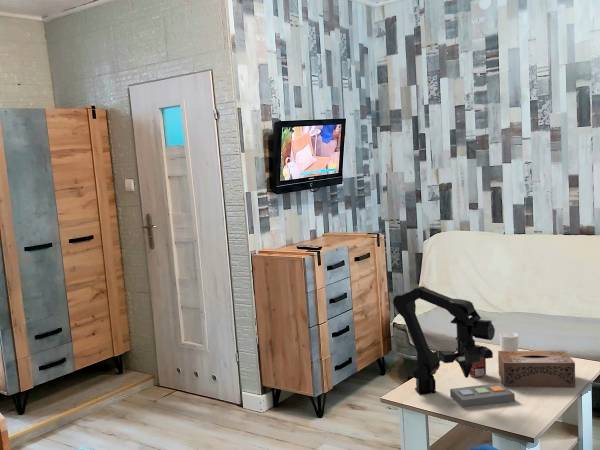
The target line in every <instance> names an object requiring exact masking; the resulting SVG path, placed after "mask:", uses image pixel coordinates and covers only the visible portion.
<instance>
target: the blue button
mask: <svg viewBox="0 0 600 450" xmlns="http://www.w3.org/2000/svg"><path fill="white" fill-rule="evenodd" d="M459 393H460V394H461V395H462V396H469V395H474V393H473V392H472V391H470V390H469V389H468V390H460V391H459Z"/></svg>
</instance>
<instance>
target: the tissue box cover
mask: <svg viewBox="0 0 600 450" xmlns="http://www.w3.org/2000/svg"><path fill="white" fill-rule="evenodd" d="M497 355H498V356H497V357H498V358H497V359H498V361H497V362H498V363H497V364H498V376H499V378H500V380H501V384H502V385H503V386H505V387H506V388H540V389H541V388H543V389H544V388H545V389H546V388H547V389H549V388H553V389H557V388H560V389H561V388H563V389H564V388H566V389H567V388H568V389H569V388H570V389H575V388H576V362H575V361H574V360H573V359H572V357H571V356H570V355H569V354H568V352H567V351H566V350H518V351H501V350H498V351H497Z"/></svg>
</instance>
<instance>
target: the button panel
mask: <svg viewBox="0 0 600 450" xmlns="http://www.w3.org/2000/svg"><path fill="white" fill-rule="evenodd" d="M493 386H500V387H502V388H503V389H504V390H505V391H502V392H493V391H491V390H490V389H489V387H493ZM477 388H485V389H487V390H488V391H489V393H486V394H478V393H476V392H475V391H474V389H477ZM468 389H469V390H470V391H472V392H473V393H474V395H469V396H462V395H461V394H460V393H459V391H460V390H468ZM449 394H450V396H449V397H450V398H451V399H452V400H453V401H455V403H456V404H458V406H459V407H461V408H462V409H467V408H473V407H474V408H475V407H481V406H482V407H483V406H490V405H496V404H497V405H498V404H506V403H514V402H516V401H515V399H516V398H515V392H513V391H511V389H509V388H508V387H505V386H504V385H503V383H502V382H501V383H500V382H497V383H490V384H489V383H488V384H481V385H472V386H463V387H454V388H450V389H449Z"/></svg>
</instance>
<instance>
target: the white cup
mask: <svg viewBox="0 0 600 450" xmlns="http://www.w3.org/2000/svg"><path fill="white" fill-rule="evenodd" d="M499 345H500V347H499V348H500V351H519V334H518V333H516V332H510V331H504V332H500V333H499Z"/></svg>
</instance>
